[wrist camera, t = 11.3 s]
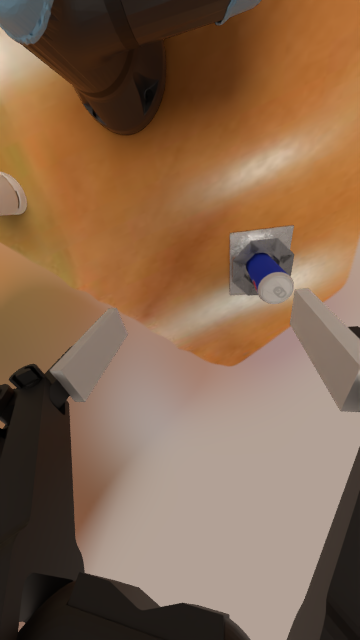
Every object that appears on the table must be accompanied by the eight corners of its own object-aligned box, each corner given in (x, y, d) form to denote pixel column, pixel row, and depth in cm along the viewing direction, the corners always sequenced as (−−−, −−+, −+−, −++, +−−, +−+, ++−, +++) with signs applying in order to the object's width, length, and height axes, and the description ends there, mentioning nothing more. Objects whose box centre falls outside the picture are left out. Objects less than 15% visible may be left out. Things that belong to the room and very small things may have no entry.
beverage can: (240, 266, 41) (251, 293, 29) (258, 246, 39) (278, 267, 26) (257, 279, 42) (275, 311, 30) (276, 261, 40) (303, 287, 27)
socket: (229, 232, 39) (231, 236, 35) (292, 225, 37) (300, 227, 33) (229, 293, 46) (230, 301, 43) (281, 290, 44) (288, 298, 40)
